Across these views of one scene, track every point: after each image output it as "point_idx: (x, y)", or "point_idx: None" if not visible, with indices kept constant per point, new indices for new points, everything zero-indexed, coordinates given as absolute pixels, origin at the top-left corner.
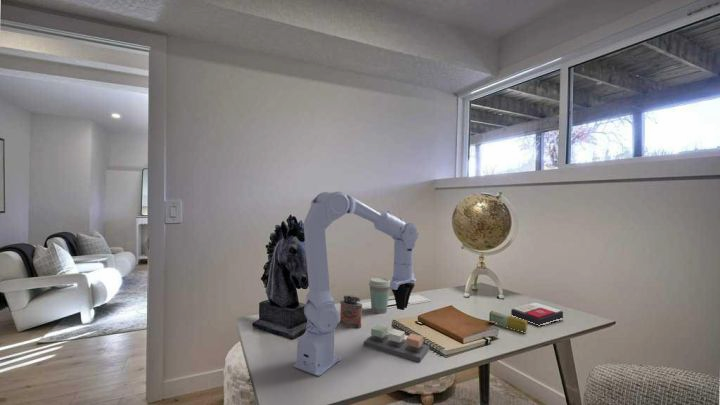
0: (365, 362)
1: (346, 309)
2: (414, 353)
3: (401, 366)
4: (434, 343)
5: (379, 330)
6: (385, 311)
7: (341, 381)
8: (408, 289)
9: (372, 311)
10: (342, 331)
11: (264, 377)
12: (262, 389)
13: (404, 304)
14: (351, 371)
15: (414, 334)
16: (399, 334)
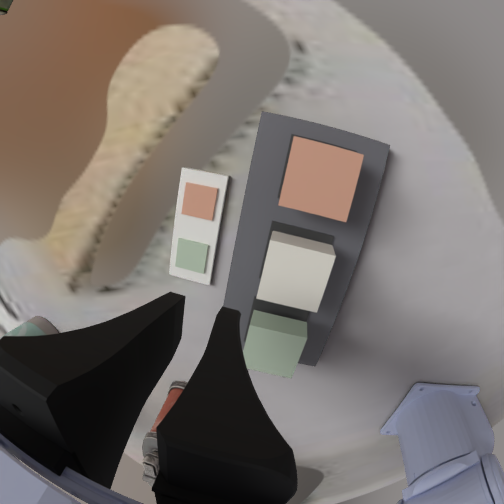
0: (422, 325)
1: None
2: (362, 170)
3: (429, 212)
4: (190, 101)
5: (299, 350)
6: (44, 320)
7: (496, 343)
8: (246, 452)
9: None
10: None
11: None
12: (493, 424)
13: (239, 333)
14: (464, 341)
15: (285, 185)
16: (315, 261)
